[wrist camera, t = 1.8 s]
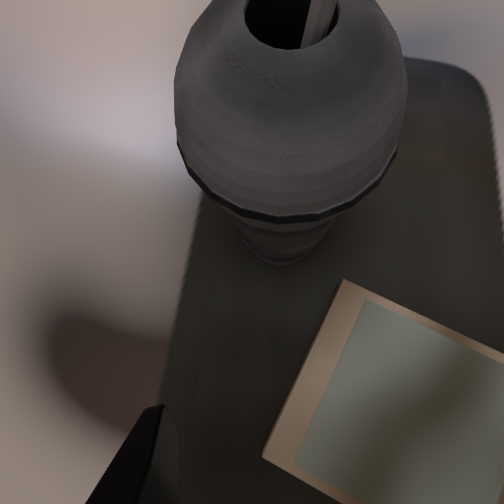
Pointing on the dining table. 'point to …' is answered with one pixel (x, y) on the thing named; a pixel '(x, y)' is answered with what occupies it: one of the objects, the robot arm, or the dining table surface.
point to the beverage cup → (289, 114)
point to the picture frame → (393, 409)
